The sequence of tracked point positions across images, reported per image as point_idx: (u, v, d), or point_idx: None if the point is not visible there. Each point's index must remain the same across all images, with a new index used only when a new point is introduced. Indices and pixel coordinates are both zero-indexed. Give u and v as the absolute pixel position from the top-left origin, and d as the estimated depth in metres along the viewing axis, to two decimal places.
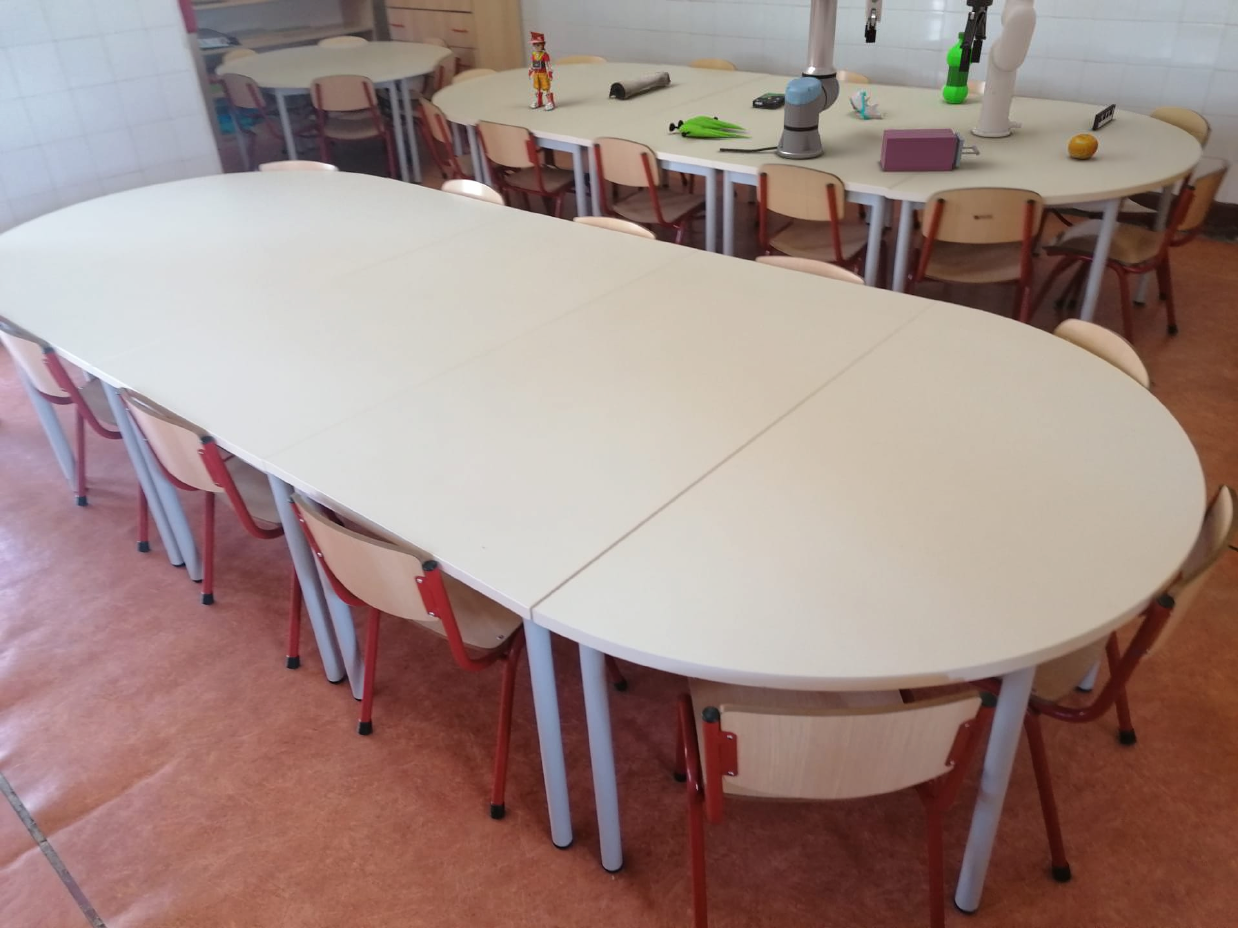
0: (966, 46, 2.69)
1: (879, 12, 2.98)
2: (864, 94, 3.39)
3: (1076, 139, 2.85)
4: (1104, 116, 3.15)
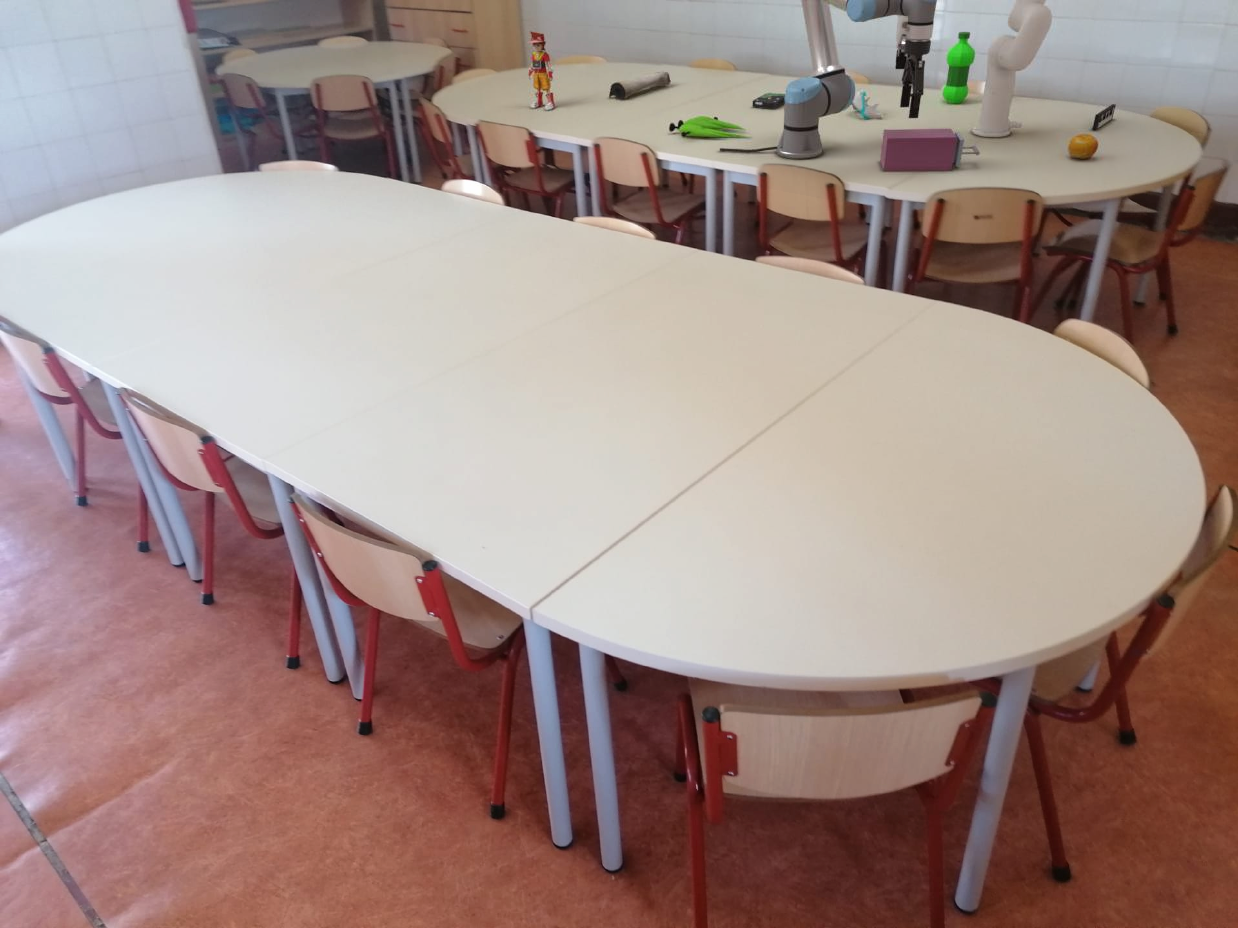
0: None
1: None
2: (864, 94, 3.39)
3: (1076, 139, 2.85)
4: (1104, 116, 3.15)
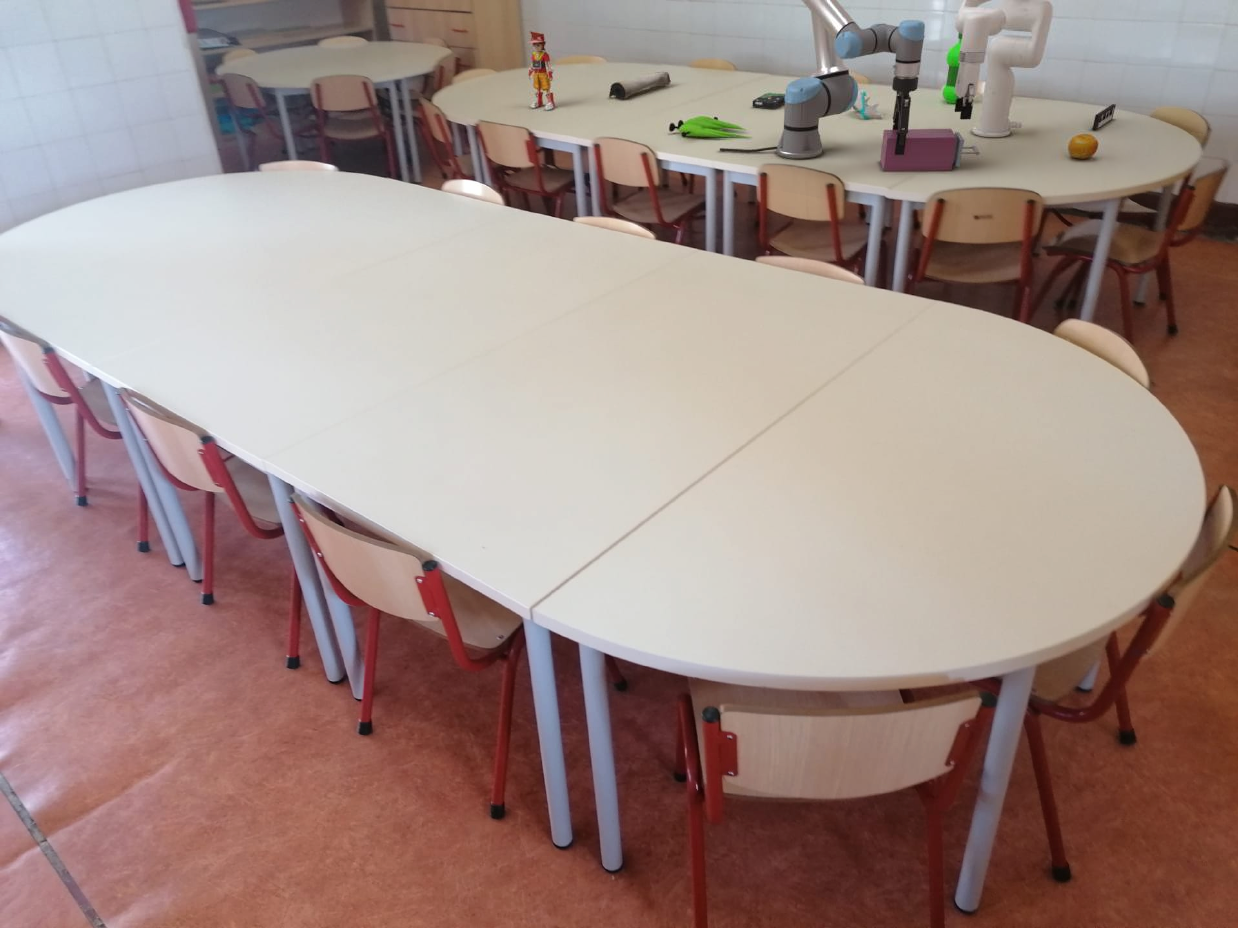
0: None
1: None
2: (864, 94, 3.39)
3: (1076, 139, 2.85)
4: (1104, 116, 3.15)
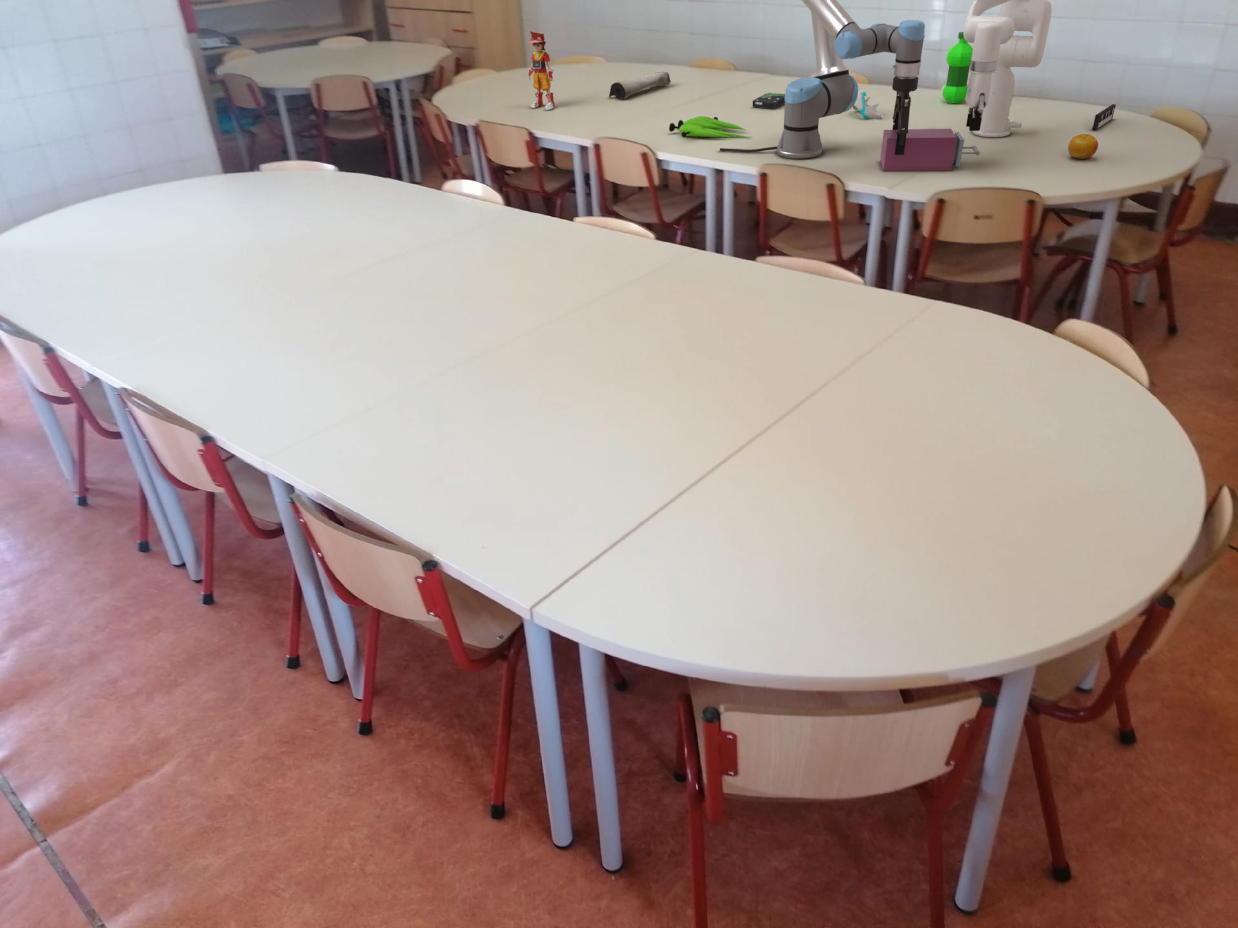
0: None
1: None
2: (864, 94, 3.39)
3: (1076, 139, 2.85)
4: (1104, 116, 3.15)
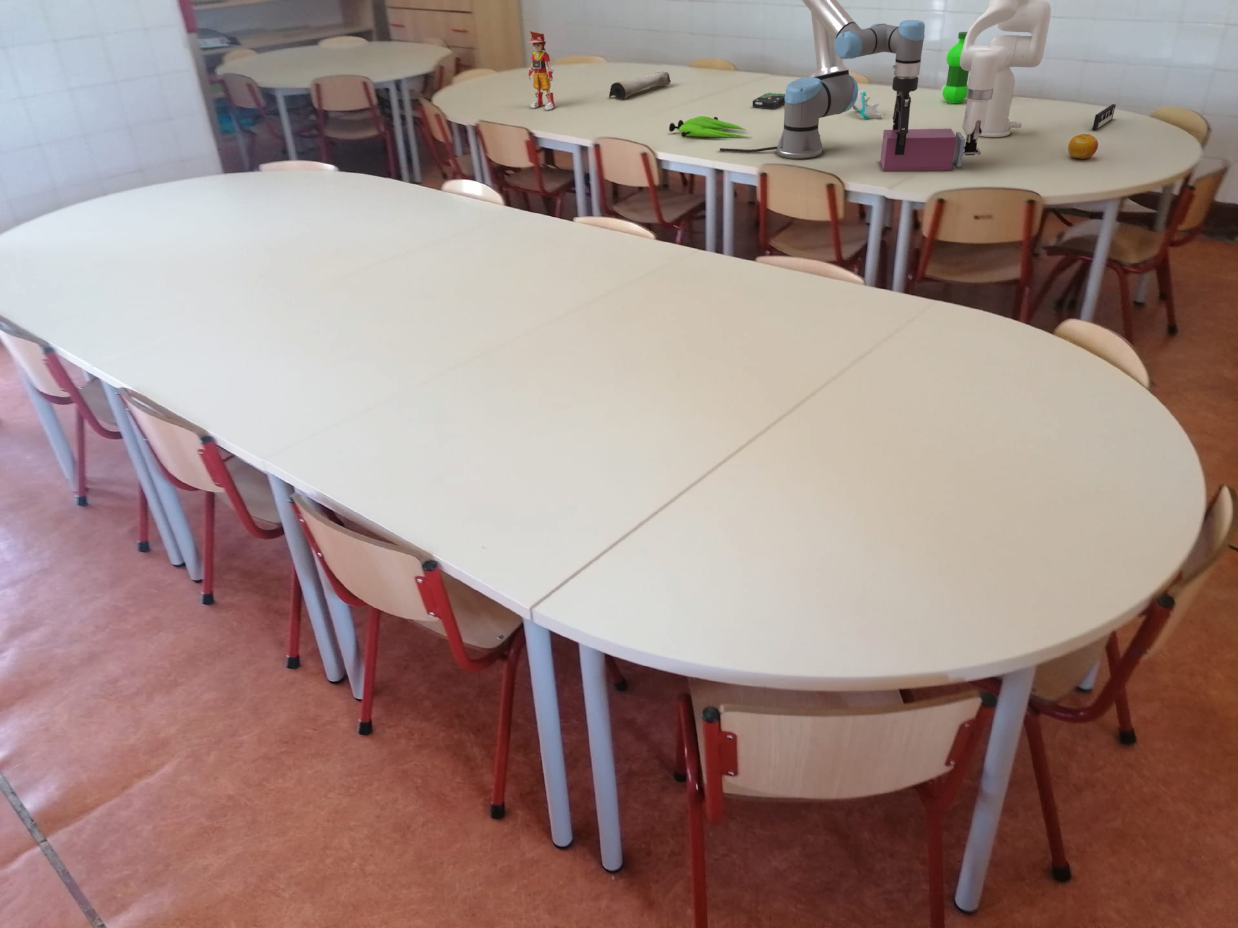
0: None
1: None
2: (864, 94, 3.39)
3: (1076, 139, 2.85)
4: (1104, 116, 3.15)
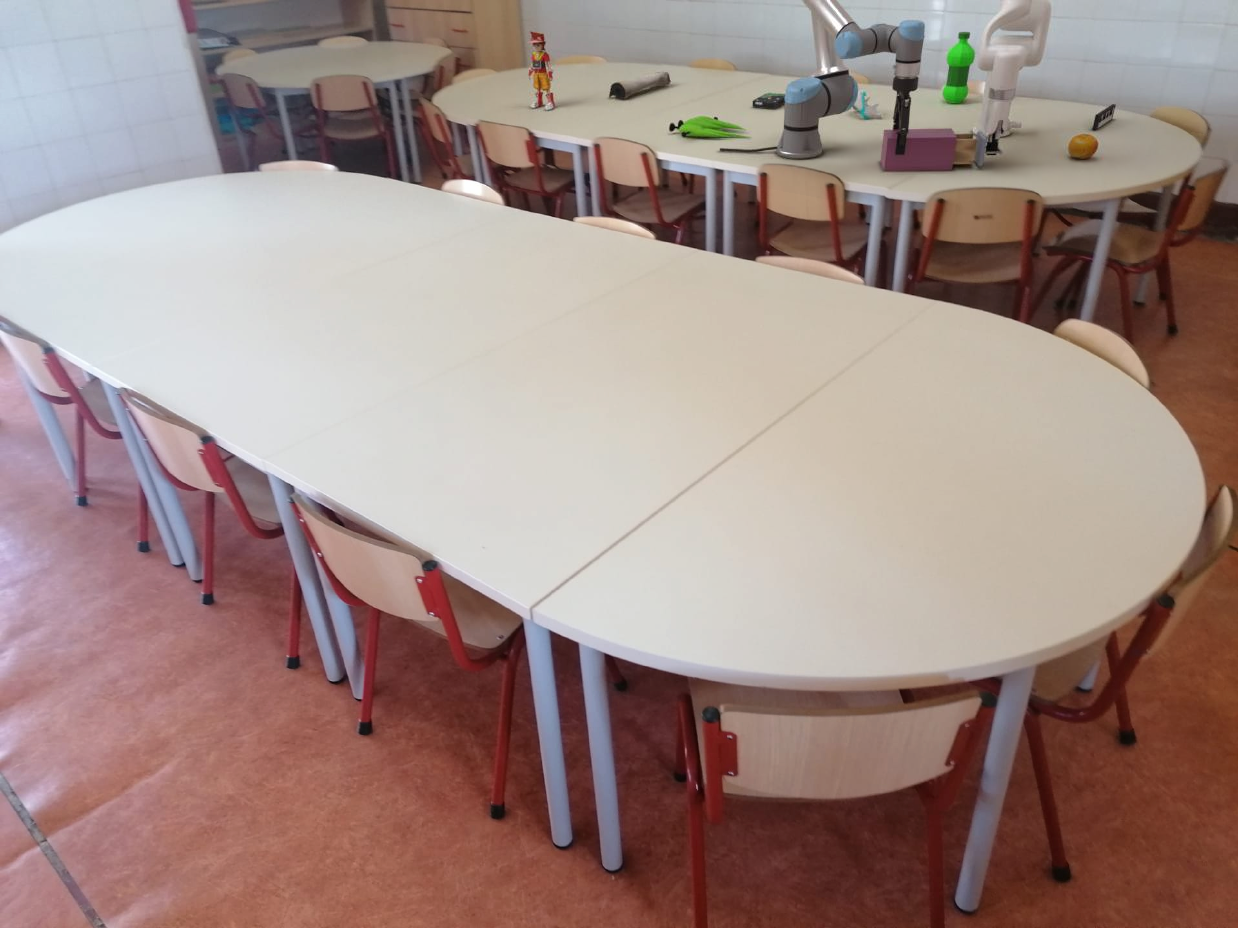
0: None
1: None
2: (864, 94, 3.39)
3: (1076, 139, 2.85)
4: (1104, 116, 3.15)
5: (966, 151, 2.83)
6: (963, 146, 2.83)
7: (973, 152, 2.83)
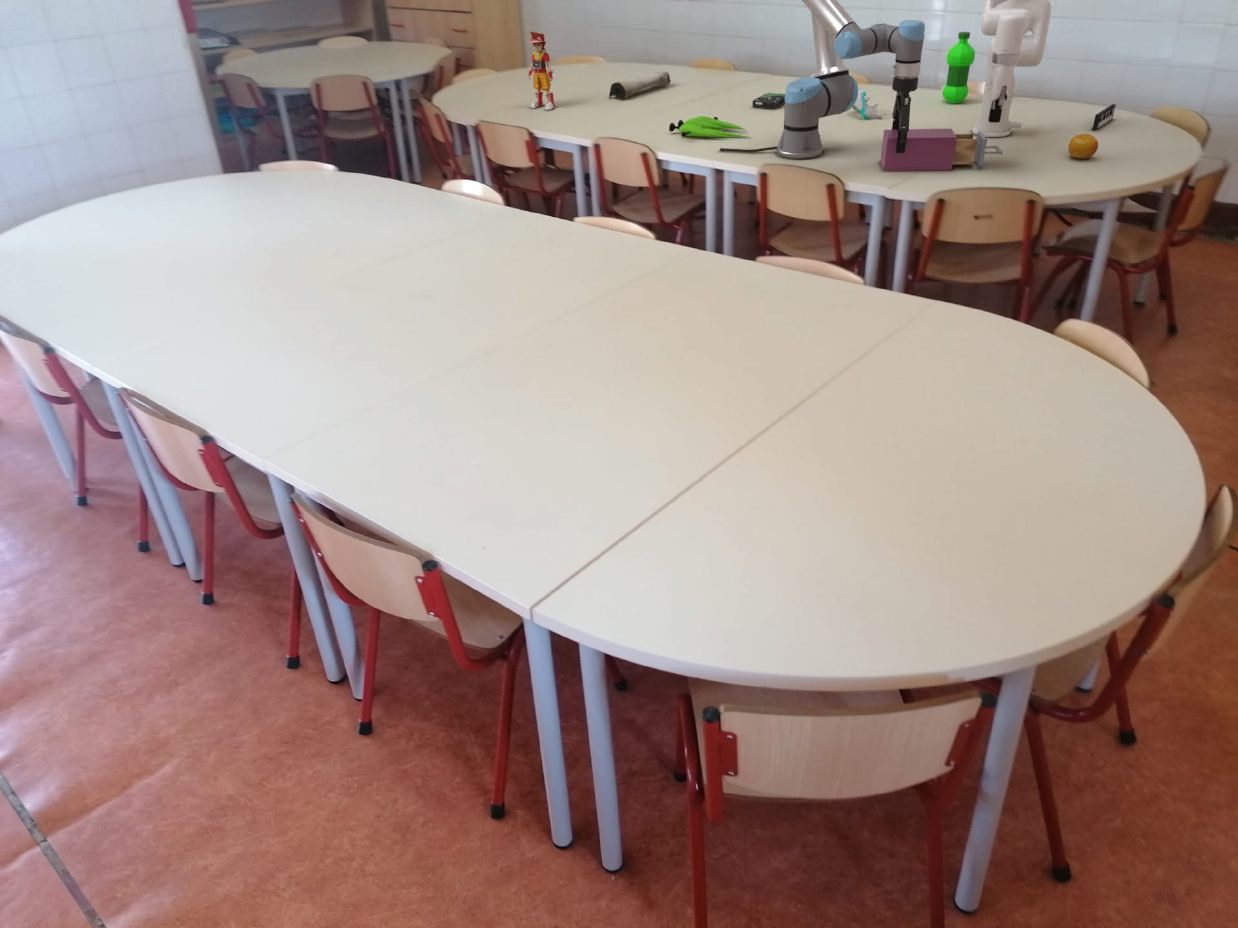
0: None
1: None
2: (864, 94, 3.39)
3: (1076, 139, 2.85)
4: (1104, 116, 3.15)
5: (966, 151, 2.83)
6: (963, 146, 2.83)
7: (973, 152, 2.83)
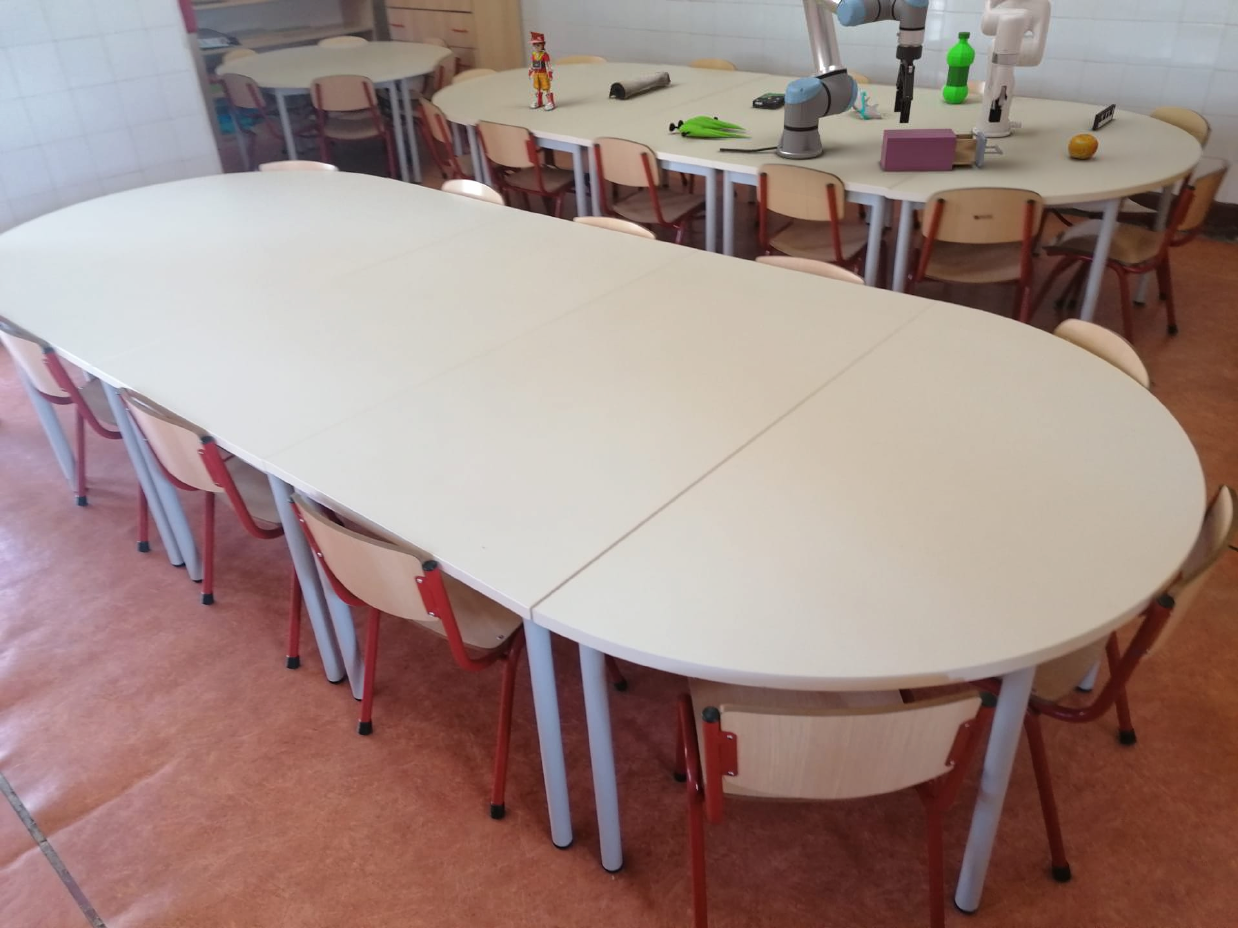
0: None
1: None
2: (864, 94, 3.39)
3: (1076, 139, 2.85)
4: (1104, 116, 3.15)
5: (966, 152, 2.83)
6: (963, 146, 2.83)
7: (973, 152, 2.83)
